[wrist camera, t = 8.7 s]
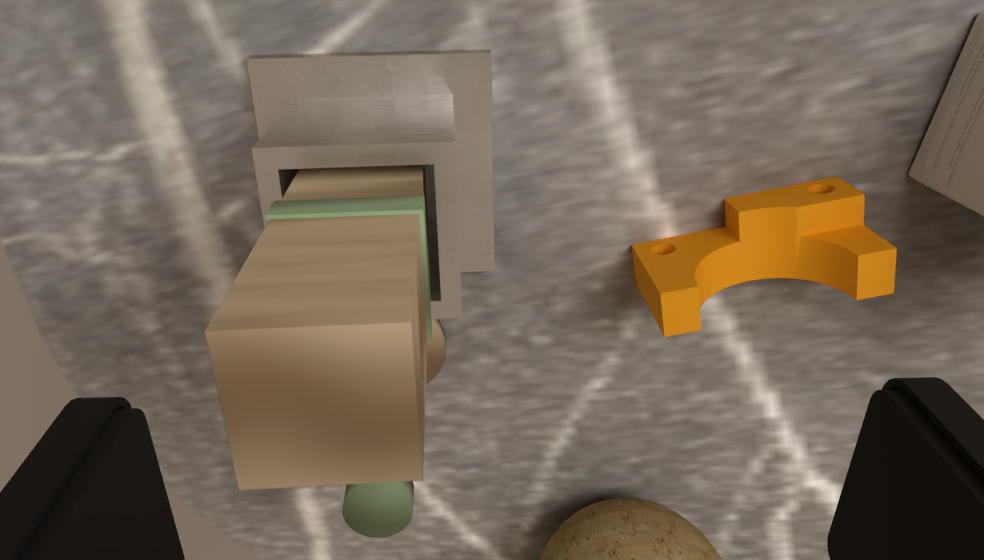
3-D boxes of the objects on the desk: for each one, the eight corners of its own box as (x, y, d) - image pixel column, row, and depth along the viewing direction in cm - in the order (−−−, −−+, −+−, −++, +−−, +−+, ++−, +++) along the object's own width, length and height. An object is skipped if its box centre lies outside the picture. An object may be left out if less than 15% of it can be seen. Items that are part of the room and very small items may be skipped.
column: (300, 156, 32) (197, 326, 18) (426, 152, 32) (416, 317, 19) (315, 270, 34) (234, 494, 21) (433, 266, 35) (428, 484, 21)
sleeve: (251, 55, 37) (189, 98, 28) (490, 49, 37) (505, 89, 28) (284, 271, 42) (241, 366, 33) (493, 263, 42) (507, 354, 34)
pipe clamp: (835, 175, 42) (899, 215, 36) (833, 244, 44) (893, 293, 38) (627, 216, 42) (657, 263, 36) (635, 282, 44) (664, 337, 38)
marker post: (340, 300, 43) (298, 460, 30) (443, 296, 43) (444, 452, 30) (351, 386, 46) (315, 566, 33) (447, 381, 46) (449, 558, 33)
